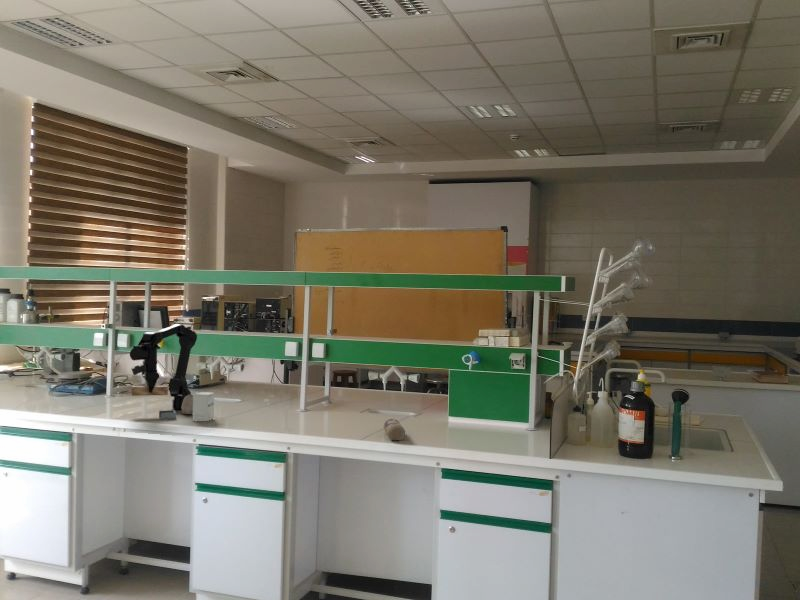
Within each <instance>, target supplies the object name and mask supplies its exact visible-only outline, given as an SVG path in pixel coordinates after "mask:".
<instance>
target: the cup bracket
mask: <svg viewBox="0 0 800 600" xmlns="http://www.w3.org/2000/svg"><path fill="white" fill-rule="evenodd" d="M158 411H159V413H158V417H159V419H160V420H162V421H164V420H163V419H168V420H177V412H176V410H174V409H173V410H172V409H169V410H168V409H167V410H158Z"/></svg>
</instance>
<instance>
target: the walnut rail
mask: <svg viewBox="0 0 800 600" xmlns="http://www.w3.org/2000/svg"><path fill="white" fill-rule="evenodd" d="M168 393H169V387H168V385H155V386H154V388H153V391H152V392H151V393H150V392H149V388H148V386H147V385H132V386H131V397H132V396H135V397H136V396H140V397H141V396H142V397H143V396H168Z"/></svg>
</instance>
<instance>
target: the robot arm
mask: <svg viewBox="0 0 800 600" xmlns="http://www.w3.org/2000/svg"><path fill="white" fill-rule="evenodd" d="M174 335H175V336H176V337H177V338H178V344H179V346H180V348H179V349H180V350H179V355H178V360H177V364H176V370H175V375H174V376H173V377H172V378H170V379H169V381H168V382H169V383H168V385H167V386H168V392H169V394H170V395H169V396H170V397H173V399H172V401H171V402H172V403H171V404H172V405H171V407H172V409H173V410H174V411H182V409H181V407H182V403H183V400H184V398H185V397H186V396H187V395H192V393H191V391H190V389H188V381H187V378H186V375H187V370H188V366H189V361H190V355H191V350H192V349H193V347H194V346H195V345H196V342H197V339H198V335H197V333H196V331H194V330H192V329H190V328H188V327H186V326H185V325H184V324H181V323H173V324H172V325H170V326H168V327H165V328H163V329H160V330H157V331H156V330H155V331H146V332H143V335H142V337H141V338H140V341H139V342H138V344H137V345H133V347H132V349H130V352H129V357H130V359H131V360H132V361H142V363H141V364H138V365H135V366H132V367H131V368H130V370H131V372H132V375H133V376H136V375H138V374H140V373H141V376H142V378H143V379H144V380H145V382H146V386H148V388H149V392H150V393H151V392H152V391H153V388H154V386H156V384H157V382H158V380H159V379H160V373H158V369H157V367H158V350H161V347H160V345H159V344H160V343H161V342H163V340H164V339H167V338H168V337H171V336H174Z"/></svg>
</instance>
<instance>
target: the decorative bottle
mask: <svg viewBox="0 0 800 600" xmlns="http://www.w3.org/2000/svg"><path fill="white" fill-rule="evenodd" d="M383 430H384V431H385V434H386V435H387V438H388V439H390V441H392V440H400V441H402V440H403V439H404V438H405V436H406V429H405V428H404V426H402V424H401V423H400V422H399V421H398V419H395V418H390V419H387V420H386V421H385V422H384V423H383Z"/></svg>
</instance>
